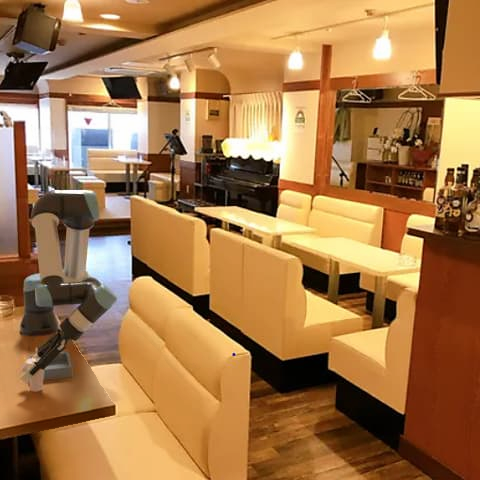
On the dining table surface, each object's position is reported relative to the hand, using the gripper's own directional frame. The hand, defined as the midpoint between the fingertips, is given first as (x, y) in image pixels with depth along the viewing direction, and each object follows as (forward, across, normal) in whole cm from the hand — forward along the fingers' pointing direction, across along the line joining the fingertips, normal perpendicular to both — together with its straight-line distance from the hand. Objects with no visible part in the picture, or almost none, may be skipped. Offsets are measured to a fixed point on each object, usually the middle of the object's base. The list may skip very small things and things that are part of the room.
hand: (23, 375), depth 183 cm
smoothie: (+1, 0, -6) cm, 6 cm away
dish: (-2, +13, -9) cm, 16 cm away
